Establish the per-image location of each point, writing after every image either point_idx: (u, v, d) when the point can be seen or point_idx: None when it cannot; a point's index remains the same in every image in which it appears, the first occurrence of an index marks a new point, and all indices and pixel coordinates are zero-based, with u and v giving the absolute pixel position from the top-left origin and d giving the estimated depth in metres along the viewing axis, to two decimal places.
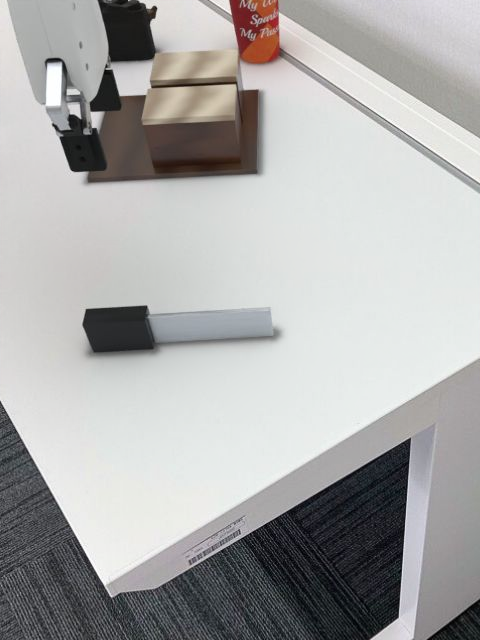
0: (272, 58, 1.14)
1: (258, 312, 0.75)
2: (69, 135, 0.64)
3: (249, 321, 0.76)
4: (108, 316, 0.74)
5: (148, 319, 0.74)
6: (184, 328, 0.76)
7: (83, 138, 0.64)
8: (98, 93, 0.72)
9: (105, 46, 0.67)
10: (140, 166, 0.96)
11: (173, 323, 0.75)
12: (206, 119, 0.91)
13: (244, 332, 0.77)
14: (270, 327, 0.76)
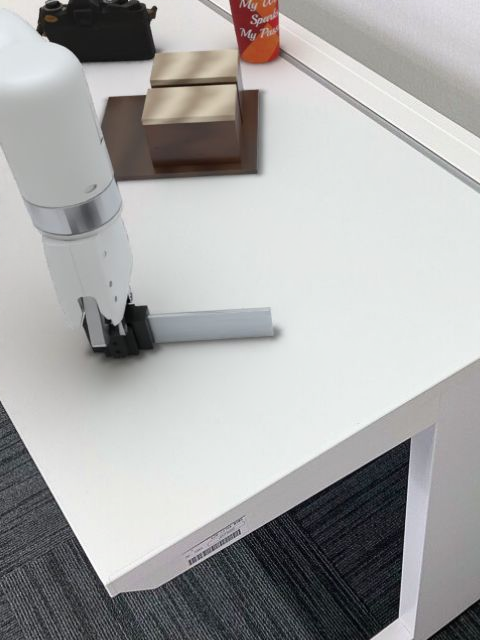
0: (272, 58, 1.14)
1: (258, 312, 0.75)
2: None
3: (249, 321, 0.76)
4: None
5: (148, 319, 0.74)
6: (184, 328, 0.76)
7: (119, 337, 0.73)
8: None
9: (130, 261, 0.73)
10: (140, 166, 0.96)
11: (173, 323, 0.75)
12: (206, 119, 0.91)
13: (244, 332, 0.77)
14: (270, 327, 0.76)
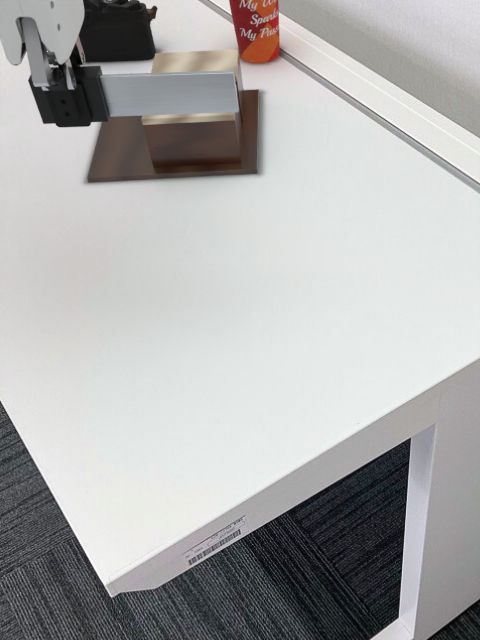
0: (272, 58, 1.14)
1: (221, 74, 0.69)
2: (54, 89, 0.66)
3: (211, 87, 0.70)
4: None
5: (101, 79, 0.69)
6: (141, 94, 0.70)
7: (67, 93, 0.67)
8: None
9: (80, 9, 0.67)
10: (140, 166, 0.96)
11: (128, 86, 0.69)
12: (206, 119, 0.91)
13: (206, 103, 0.71)
14: (233, 97, 0.71)
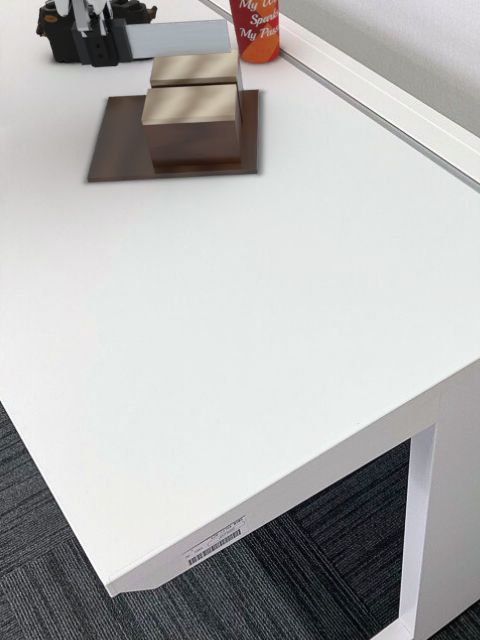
0: (272, 58, 1.14)
1: (217, 22, 0.90)
2: (91, 36, 0.88)
3: (209, 33, 0.91)
4: None
5: (125, 28, 0.90)
6: (156, 39, 0.91)
7: (101, 39, 0.89)
8: None
9: None
10: (140, 166, 0.96)
11: (146, 34, 0.91)
12: (206, 119, 0.91)
13: (206, 45, 0.92)
14: (227, 40, 0.92)
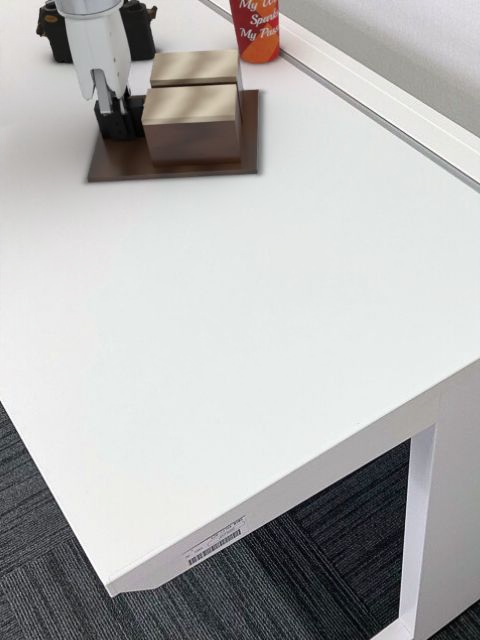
0: (272, 58, 1.14)
1: None
2: (112, 115, 0.96)
3: None
4: None
5: (143, 107, 0.98)
6: None
7: (121, 117, 0.96)
8: None
9: (129, 59, 0.96)
10: (140, 166, 0.96)
11: None
12: (206, 119, 0.91)
13: None
14: None
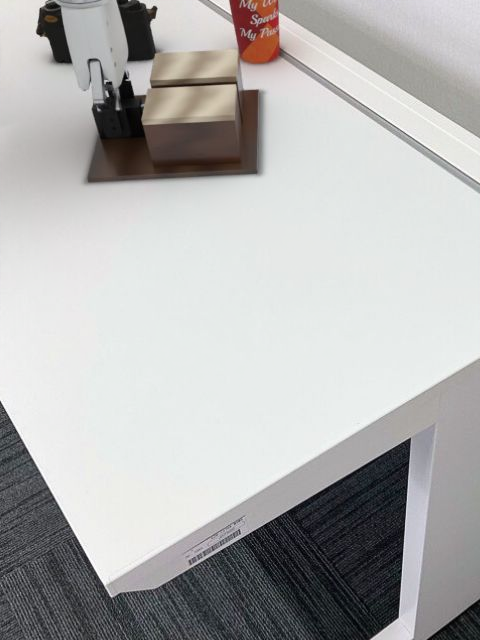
0: (272, 58, 1.14)
1: None
2: (106, 111, 0.93)
3: None
4: None
5: (141, 107, 0.98)
6: None
7: (115, 113, 0.94)
8: (120, 97, 1.00)
9: (126, 50, 0.95)
10: (140, 166, 0.96)
11: None
12: (206, 119, 0.91)
13: None
14: None
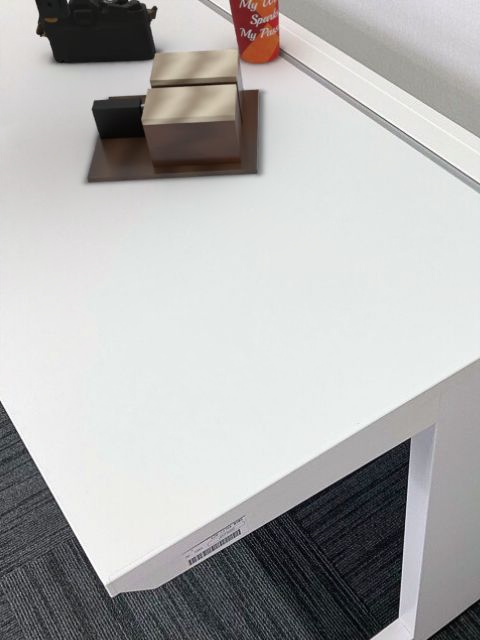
0: (272, 58, 1.14)
1: None
2: None
3: None
4: (111, 104, 0.97)
5: (141, 107, 0.98)
6: None
7: None
8: None
9: None
10: (140, 166, 0.96)
11: None
12: (206, 119, 0.91)
13: None
14: None
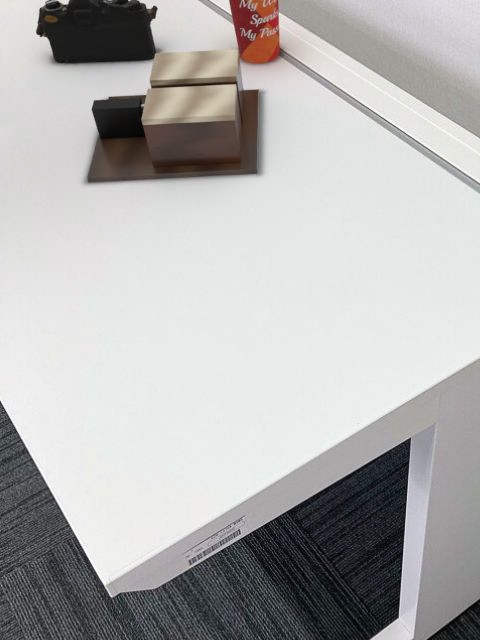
0: (272, 58, 1.14)
1: None
2: None
3: None
4: (111, 104, 0.97)
5: (141, 107, 0.98)
6: None
7: None
8: None
9: None
10: (140, 166, 0.96)
11: None
12: (206, 119, 0.91)
13: None
14: None
